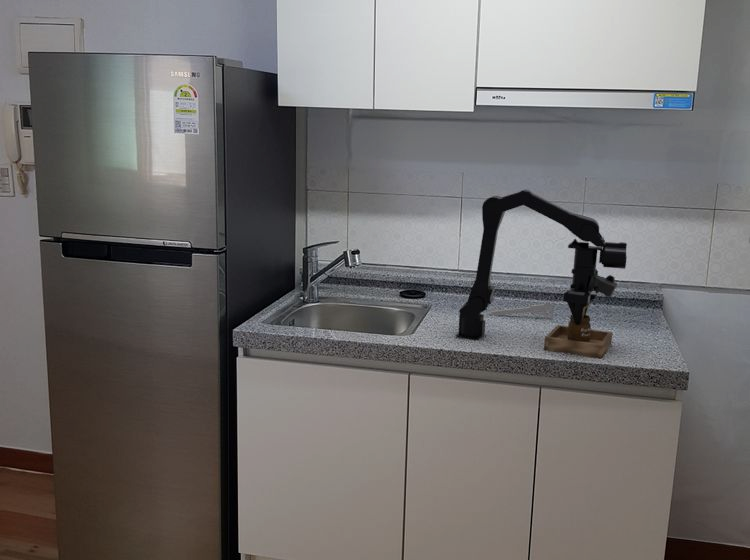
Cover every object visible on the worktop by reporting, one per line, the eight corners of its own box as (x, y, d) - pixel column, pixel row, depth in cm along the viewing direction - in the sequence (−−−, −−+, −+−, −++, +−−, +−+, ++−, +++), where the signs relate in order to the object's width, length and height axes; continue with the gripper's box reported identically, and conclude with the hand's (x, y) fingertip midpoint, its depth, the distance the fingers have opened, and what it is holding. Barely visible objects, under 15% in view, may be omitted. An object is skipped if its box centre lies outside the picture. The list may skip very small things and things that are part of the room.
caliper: (552, 319, 229) (554, 300, 227) (552, 320, 228) (554, 301, 226) (487, 315, 233) (488, 295, 231) (487, 315, 232) (488, 296, 230)
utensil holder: (563, 341, 198) (566, 298, 195) (573, 336, 202) (576, 294, 200) (583, 345, 194) (587, 301, 191) (593, 340, 199) (597, 297, 196)
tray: (543, 349, 195) (544, 337, 194) (556, 336, 208) (557, 324, 207) (601, 358, 188) (602, 345, 188) (611, 344, 201) (612, 332, 201)
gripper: (610, 274, 182) (604, 334, 185) (621, 263, 198) (616, 319, 202) (565, 269, 187) (560, 328, 190) (580, 259, 203) (575, 314, 206)
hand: (579, 322), depth 197 cm, fingers closed on utensil holder, 5 cm apart
